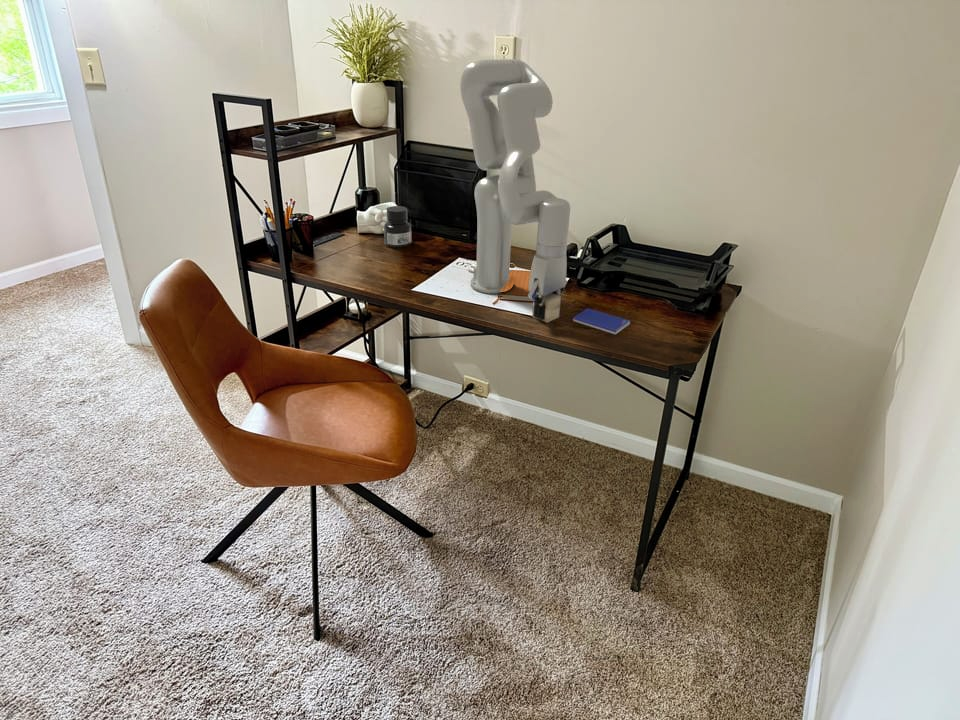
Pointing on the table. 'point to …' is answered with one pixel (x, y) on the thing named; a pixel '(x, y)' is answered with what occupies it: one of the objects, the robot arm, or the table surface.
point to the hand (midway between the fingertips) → (545, 314)
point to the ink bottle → (397, 227)
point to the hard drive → (601, 321)
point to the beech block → (550, 307)
